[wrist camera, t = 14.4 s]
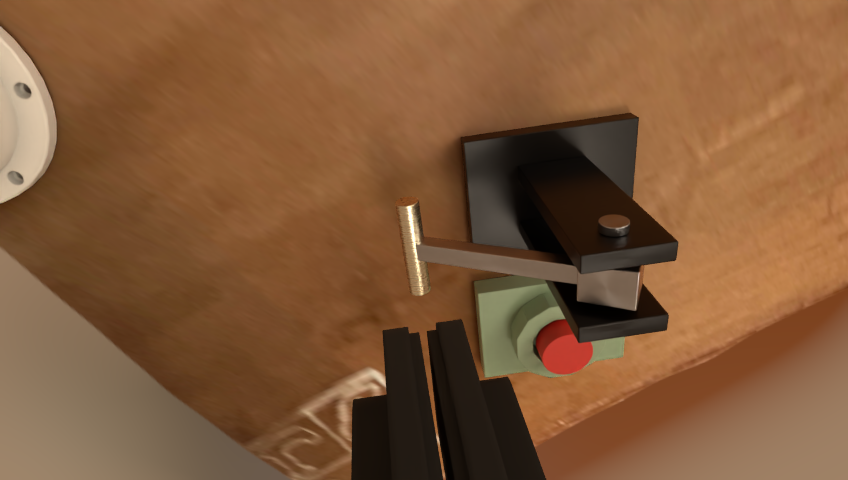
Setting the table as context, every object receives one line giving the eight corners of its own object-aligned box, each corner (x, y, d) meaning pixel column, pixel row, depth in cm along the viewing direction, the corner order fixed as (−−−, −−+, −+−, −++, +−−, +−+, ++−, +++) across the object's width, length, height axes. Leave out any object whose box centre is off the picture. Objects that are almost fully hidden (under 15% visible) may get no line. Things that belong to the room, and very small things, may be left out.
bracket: (471, 257, 37) (512, 384, 26) (460, 136, 33) (504, 226, 22) (622, 235, 37) (727, 352, 26) (630, 112, 33) (761, 188, 22)
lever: (419, 277, 33) (401, 299, 31) (406, 191, 30) (386, 209, 28) (639, 314, 27) (633, 343, 26) (649, 212, 24) (643, 236, 23)
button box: (481, 363, 42) (489, 394, 39) (473, 280, 38) (482, 308, 35) (614, 343, 42) (633, 373, 39) (620, 259, 38) (641, 285, 35)
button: (535, 361, 38) (542, 378, 37) (535, 323, 37) (541, 338, 35) (583, 354, 38) (592, 370, 37) (585, 315, 37) (594, 330, 35)
